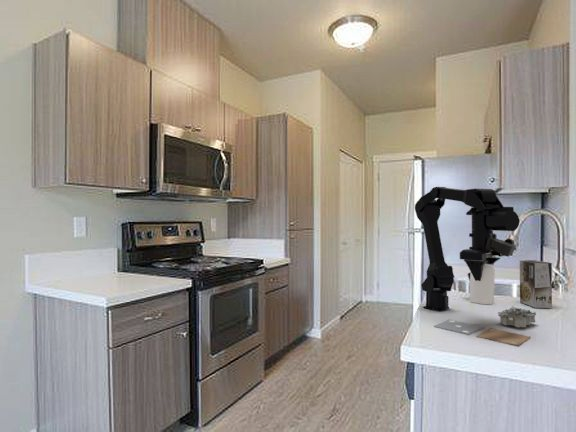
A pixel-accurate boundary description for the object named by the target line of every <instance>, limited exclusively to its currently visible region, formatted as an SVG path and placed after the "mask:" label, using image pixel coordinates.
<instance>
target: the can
mask: <svg viewBox="0 0 576 432" xmlns="http://www.w3.org/2000/svg"><path fill="white" fill-rule="evenodd" d="M469 271H470V270H469ZM495 271H496V270H495V268H494V265H493V264H485V265H484V266H483V271H482V277H481V281H475V279H474V277H473V275H472V273H471V271H470V272H469V273H470V281H469V299H468V300H469V301H468V302H470V303H472V304H477V305H483V306H484V305H485V306H493V305H494V304H495V277H496V276H495Z"/></svg>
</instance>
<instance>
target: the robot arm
mask: <svg viewBox="0 0 576 432" xmlns="http://www.w3.org/2000/svg"><path fill="white" fill-rule="evenodd" d="M446 200H450V201H456V202H461V203H464V205H466V206H469V207H471V208H470V209H469V210H467V212H465V213H466V216H471V233H468V234H469V235H468V237H469V238H470V237H471V246H469V248H467V249H462V250H461V251H460V252H459V260H463V261H464V262H465V263H466V265H467V267H468V269H469V271H471V273H472V275H473V277H474V279H475V281H481V277H482V271H483V266H484V265H485V264H493V266H494V265H495V263H496V262H497V261H499V260H500V259H501V257H504V256H505V257H508V258H509V257H512V256H513V254H514V252H515V250H517V244H515V240H514V239H511V238H506V239H505V240H503V239H499V238H497V234H496V233H494V231H496V232H497V231H501V232H502V231H503V232H514V231H516V230H517V229H518V228H519V226H520V222H521V221H520V218H519V215H518V213H517V212H516V211H514V206H504V205H503V203H502V202H501V200H500V199H499V197H498V196H497V194H496V191H495V190H494V189H492V188H470V189H469V188H468V189H459V188H451V187H447V186H435V187H432V188H431V189H430V191H429V192H427V193H425V194H424V195H422V196H421V197H420V198H419V199H418V200H416V201H417V202H416V203H415V205H414V210H415V214H416V217H417V219H418V220H419V222H420V223H421V224H422V227H423V232H424V239H425V244H426V249H427V255H428V261H429V265H428V267H427V269H426V278H425V279H424V281H422V283H421V285H420V286H421V288H422V291H424V292H425V305H424V306H423V309H428V310H432V311H439V312H443V311H445V310H448V309H450V306H449V295H448V292H451V291H452V289H453V284H454V283H455V278H456V277H455V274H454V270H453V269H454V268H453V266H452V265H448V264H447V263H446V260H445V256H444V252H443V246H442V239H441V235H440V229H439V224H438V222H439V219H440V217H441V209H442V208H443V207H444V206H445V203H446ZM497 256H498V257H497Z"/></svg>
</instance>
